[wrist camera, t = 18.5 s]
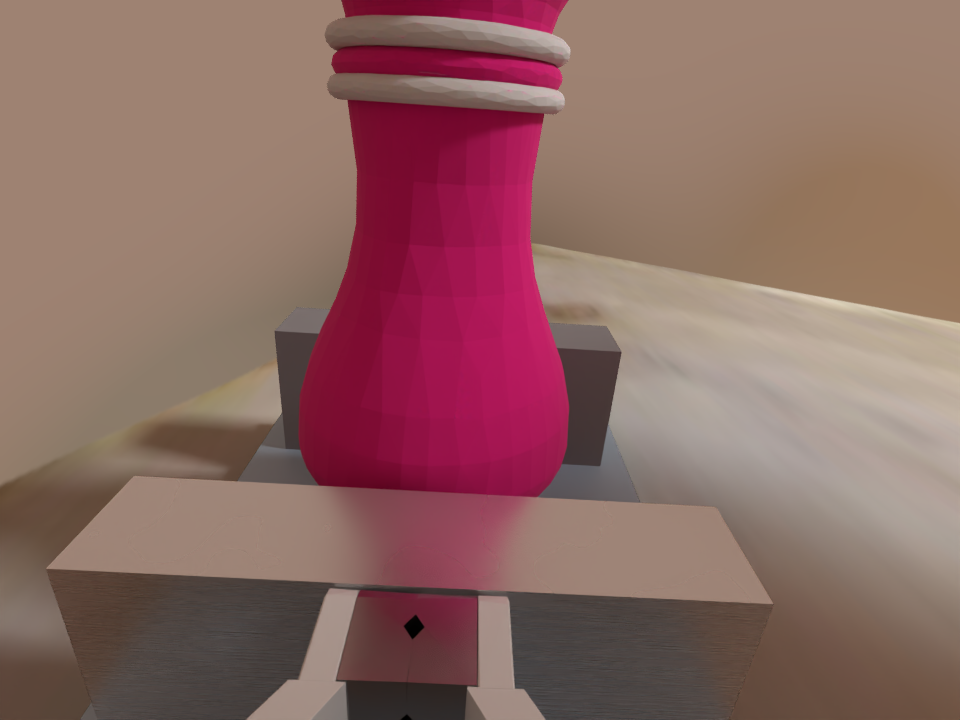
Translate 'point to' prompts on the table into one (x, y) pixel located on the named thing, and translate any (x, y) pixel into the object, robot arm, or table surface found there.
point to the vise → (590, 442)
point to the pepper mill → (440, 256)
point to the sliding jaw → (404, 569)
